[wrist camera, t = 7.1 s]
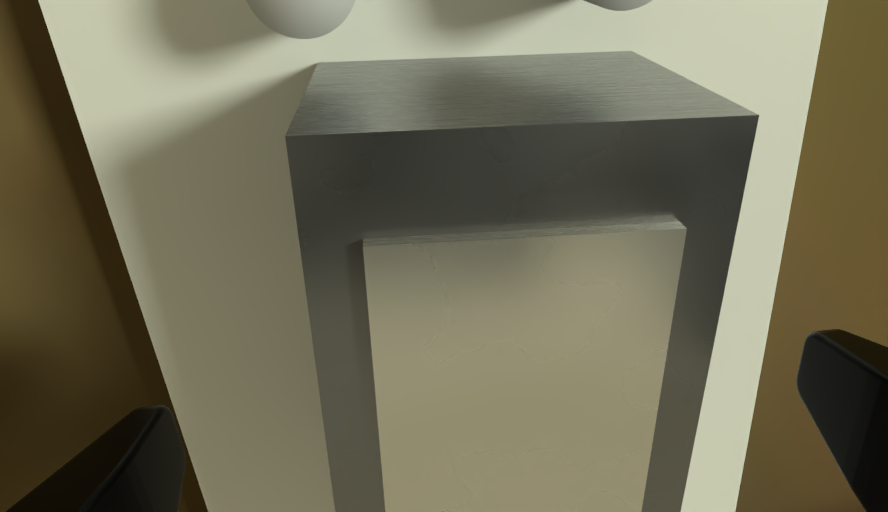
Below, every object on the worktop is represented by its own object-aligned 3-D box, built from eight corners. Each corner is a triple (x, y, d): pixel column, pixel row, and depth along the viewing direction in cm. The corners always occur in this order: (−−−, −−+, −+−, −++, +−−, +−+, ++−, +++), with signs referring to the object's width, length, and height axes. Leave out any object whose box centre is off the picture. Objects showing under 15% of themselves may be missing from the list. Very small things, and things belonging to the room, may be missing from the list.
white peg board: (825, -262, 10) (1005, -337, 7) (708, 500, 17) (773, 614, 14) (12, -204, 9) (-148, -260, 7) (246, 557, 17) (219, 687, 14)
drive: (631, 50, 11) (770, 119, 7) (591, 433, 14) (667, 615, 10) (318, 62, 10) (282, 141, 6) (358, 451, 14) (350, 646, 10)
